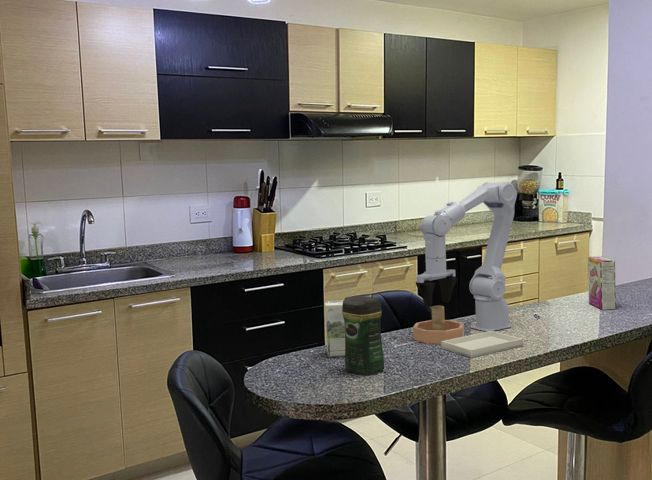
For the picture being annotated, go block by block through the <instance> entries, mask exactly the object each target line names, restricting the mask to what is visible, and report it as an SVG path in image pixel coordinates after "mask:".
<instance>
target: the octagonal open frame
mask: <svg viewBox="0 0 652 480" xmlns="http://www.w3.org/2000/svg"><path fill="white" fill-rule="evenodd" d="M464 336H465V324H464V322H459V321H455V320H452V319H445V331H442V330H432V319H429V320H425V321H419V322H416V323H415V324H414V325H413V327H412V338H413V340H415V341H417V342H421V343H422V344H423V343H424V344H434V345H436V344H439V345H440V344H441V341H445V340H450V339H454V338H459V337H464Z"/></svg>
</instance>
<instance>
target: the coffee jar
mask: <svg viewBox="0 0 652 480" xmlns="http://www.w3.org/2000/svg"><path fill="white" fill-rule="evenodd" d="M343 300H344V301H343V306H342V314H343V318H344V323H345V356H344V367H345V370H346V371H348V372H350V373H354V374H358V375H363V376H366V375H367V376H368V375H378V374H379V373H381V372H382V371H383V370H384V369H385V360H384V359H385V358H384V351H383V350H384V349H383V342H382V331H381V318H382V311H383V310H382V306H381V300H379V298H376V297H370V296H364V295H353V296H346V297H345V298H344V299H343Z"/></svg>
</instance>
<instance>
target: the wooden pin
mask: <svg viewBox="0 0 652 480" xmlns="http://www.w3.org/2000/svg"><path fill="white" fill-rule="evenodd" d="M430 308H431V320H432V330H442V331H445V320H446V319H445V306H444V305H432V307H430Z"/></svg>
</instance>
